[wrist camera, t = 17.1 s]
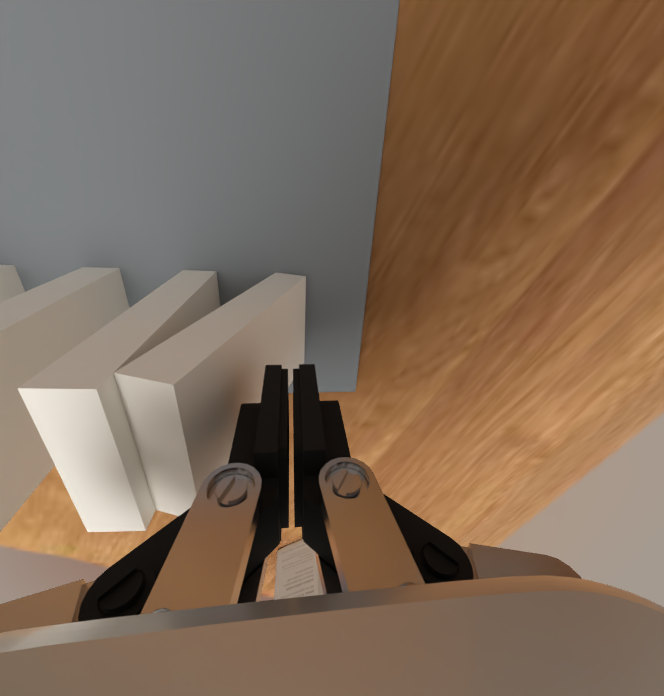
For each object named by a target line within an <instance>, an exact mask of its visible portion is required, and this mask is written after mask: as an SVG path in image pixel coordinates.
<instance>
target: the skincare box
mask: <svg viewBox="0 0 664 696" xmlns="http://www.w3.org/2000/svg"><path fill="white" fill-rule="evenodd" d="M314 595H323V590H322V586H321V581H320V576H319V571H318V567H317V562H316V552H315V551H314V550H312V549H311V548H310V547H309V546H308V545H307V544H306V543H304V542H303V539H301V540H298V541H296V542H294V543H291V544H289V545H287V546H285V547H283V548H281V549H280V550H278V552H277V564H276V579H275V594H274V600H277V599H286V598H296V597H305V596H314Z"/></svg>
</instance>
